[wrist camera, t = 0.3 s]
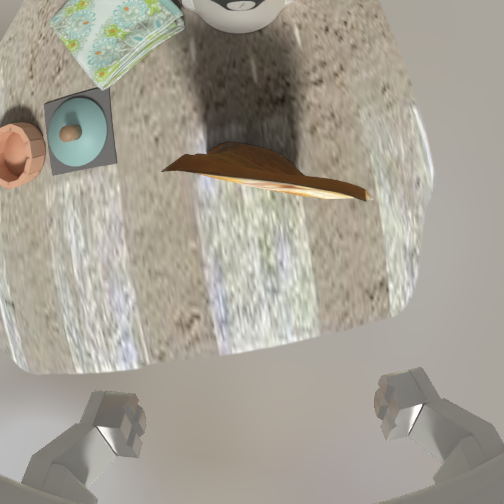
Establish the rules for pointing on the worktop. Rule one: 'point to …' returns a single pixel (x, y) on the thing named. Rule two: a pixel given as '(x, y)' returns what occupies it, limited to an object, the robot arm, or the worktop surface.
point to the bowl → (20, 154)
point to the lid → (78, 132)
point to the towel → (114, 33)
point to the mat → (108, 151)
